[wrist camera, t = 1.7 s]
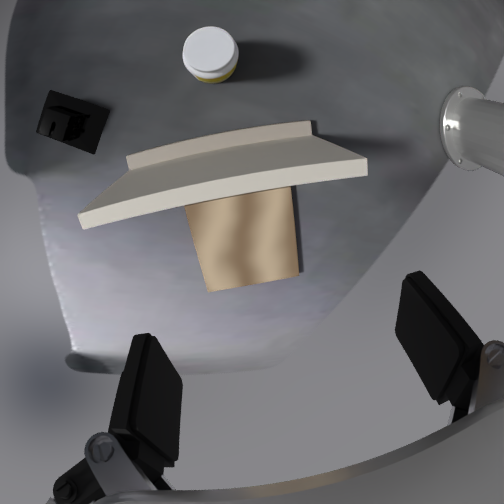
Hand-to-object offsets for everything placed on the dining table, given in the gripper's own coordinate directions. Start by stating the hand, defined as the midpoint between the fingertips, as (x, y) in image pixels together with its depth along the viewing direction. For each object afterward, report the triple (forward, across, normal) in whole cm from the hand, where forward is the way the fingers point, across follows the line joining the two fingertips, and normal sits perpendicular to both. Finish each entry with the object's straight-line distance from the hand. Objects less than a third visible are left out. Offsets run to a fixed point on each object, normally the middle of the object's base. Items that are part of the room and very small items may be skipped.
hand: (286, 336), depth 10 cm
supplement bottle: (+24, 0, -13) cm, 28 cm away
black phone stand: (+25, +18, -12) cm, 33 cm away
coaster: (+24, +2, +8) cm, 26 cm away
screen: (+24, +2, -3) cm, 24 cm away
